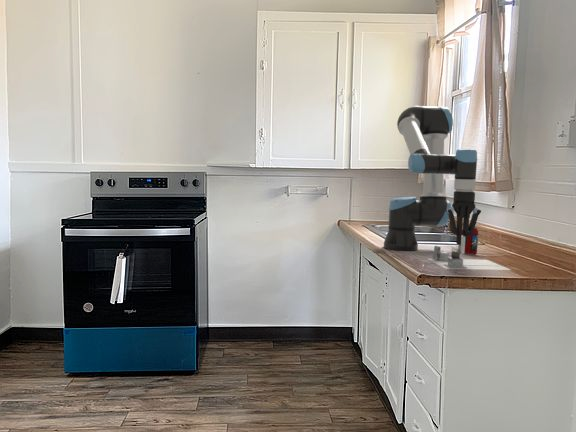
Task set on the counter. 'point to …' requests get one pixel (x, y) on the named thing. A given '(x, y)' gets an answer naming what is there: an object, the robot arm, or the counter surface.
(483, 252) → the counter surface
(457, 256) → the latch bar
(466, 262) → the door board
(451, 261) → the grey latch pivot mount
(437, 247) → the keeper
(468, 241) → the beverage can
